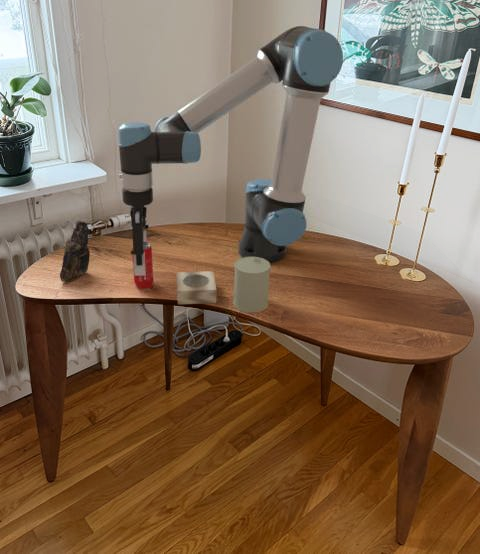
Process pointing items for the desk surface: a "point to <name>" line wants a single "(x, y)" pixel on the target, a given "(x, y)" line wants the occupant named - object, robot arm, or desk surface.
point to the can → (251, 284)
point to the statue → (76, 254)
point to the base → (196, 287)
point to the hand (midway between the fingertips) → (141, 262)
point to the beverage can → (146, 279)
